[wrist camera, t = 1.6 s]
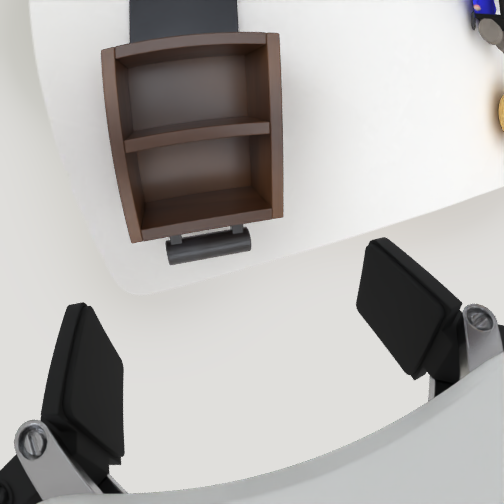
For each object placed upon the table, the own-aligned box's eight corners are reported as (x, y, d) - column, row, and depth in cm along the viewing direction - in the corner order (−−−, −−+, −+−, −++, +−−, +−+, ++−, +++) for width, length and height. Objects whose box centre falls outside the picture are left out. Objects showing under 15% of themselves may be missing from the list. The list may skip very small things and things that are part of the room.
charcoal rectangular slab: (238, 45, 18) (239, 45, 17) (131, 57, 16) (130, 57, 16) (235, -18, 14) (235, -19, 14) (130, -8, 13) (129, -10, 13)
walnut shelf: (259, 224, 26) (283, 258, 21) (146, 244, 23) (143, 284, 19) (252, 47, 18) (279, 33, 13) (117, 62, 16) (100, 49, 11)
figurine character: (482, 48, 22) (477, -30, 13) (522, 61, 16) (516, -25, 7) (458, 34, 21) (452, -49, 12) (504, 45, 15) (494, -49, 6)
